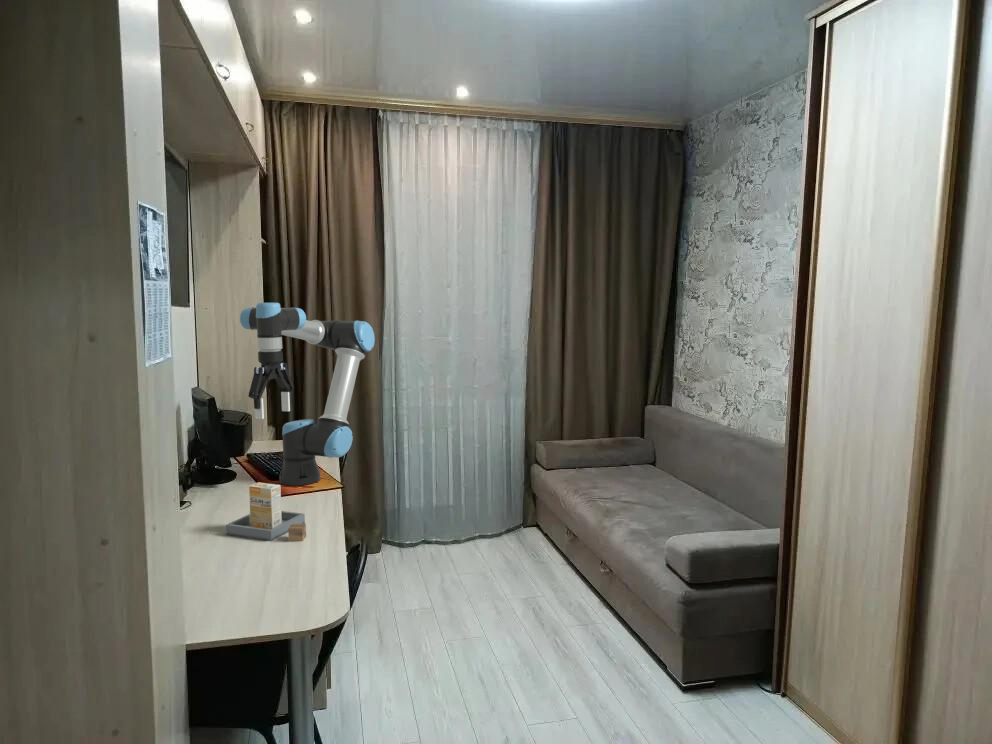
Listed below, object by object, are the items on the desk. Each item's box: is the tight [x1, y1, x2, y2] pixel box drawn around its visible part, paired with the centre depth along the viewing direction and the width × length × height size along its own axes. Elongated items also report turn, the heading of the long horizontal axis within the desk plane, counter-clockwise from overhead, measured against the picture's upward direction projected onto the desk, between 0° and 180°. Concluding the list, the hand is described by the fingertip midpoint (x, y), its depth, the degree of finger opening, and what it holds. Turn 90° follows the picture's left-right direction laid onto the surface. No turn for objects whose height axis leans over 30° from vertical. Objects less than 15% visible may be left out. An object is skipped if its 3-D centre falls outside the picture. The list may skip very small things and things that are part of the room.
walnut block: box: [287, 523, 307, 542], centre depth 191 cm, size 4×4×4 cm
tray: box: [225, 510, 305, 542], centre depth 199 cm, size 16×16×3 cm
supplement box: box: [248, 481, 282, 529], centre depth 198 cm, size 8×5×13 cm, turn 71°
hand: (273, 414), depth 216 cm, fingers open, 13 cm apart
